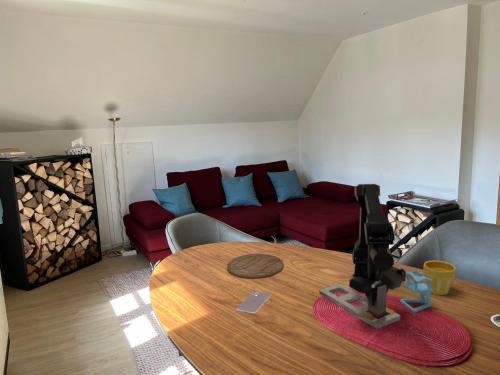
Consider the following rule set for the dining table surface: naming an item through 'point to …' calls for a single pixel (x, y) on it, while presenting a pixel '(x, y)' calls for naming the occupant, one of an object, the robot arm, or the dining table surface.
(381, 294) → the steel peg
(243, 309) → the mobile phone
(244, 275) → the trivet
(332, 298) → the grey slotted board
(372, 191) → the robot arm
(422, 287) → the light blue stand
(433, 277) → the plant pot
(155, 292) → the dining table surface
